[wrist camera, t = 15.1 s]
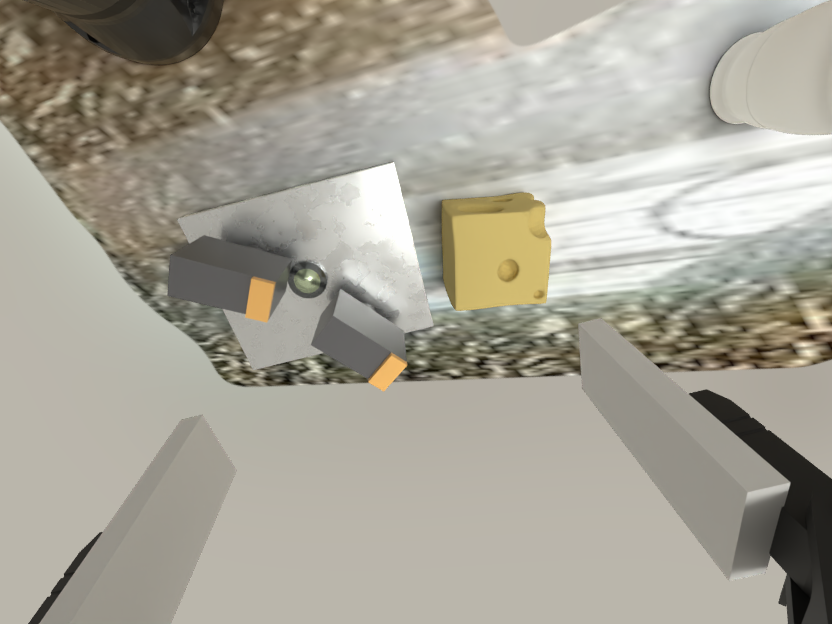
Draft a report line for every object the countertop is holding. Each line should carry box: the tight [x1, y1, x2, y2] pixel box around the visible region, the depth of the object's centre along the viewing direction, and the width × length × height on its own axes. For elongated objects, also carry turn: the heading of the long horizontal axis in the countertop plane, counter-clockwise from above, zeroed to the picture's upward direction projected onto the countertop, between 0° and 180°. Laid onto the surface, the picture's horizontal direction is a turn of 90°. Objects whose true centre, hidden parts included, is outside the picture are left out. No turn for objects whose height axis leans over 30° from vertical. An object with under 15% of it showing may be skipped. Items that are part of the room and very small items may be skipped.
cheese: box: [442, 193, 551, 311], centre depth 43 cm, size 10×11×10 cm
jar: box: [710, 0, 832, 135], centre depth 35 cm, size 11×10×15 cm
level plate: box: [177, 161, 434, 370], centre depth 46 cm, size 20×24×3 cm
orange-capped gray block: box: [311, 289, 407, 391], centre depth 43 cm, size 9×4×10 cm, turn 52°
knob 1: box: [168, 235, 292, 323], centre depth 39 cm, size 9×4×10 cm, turn 72°
